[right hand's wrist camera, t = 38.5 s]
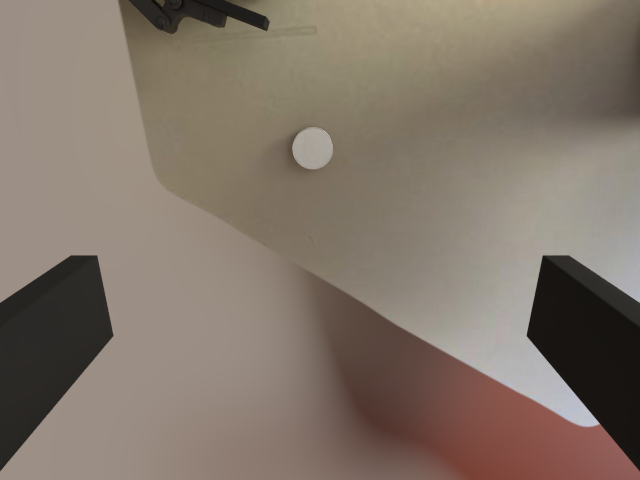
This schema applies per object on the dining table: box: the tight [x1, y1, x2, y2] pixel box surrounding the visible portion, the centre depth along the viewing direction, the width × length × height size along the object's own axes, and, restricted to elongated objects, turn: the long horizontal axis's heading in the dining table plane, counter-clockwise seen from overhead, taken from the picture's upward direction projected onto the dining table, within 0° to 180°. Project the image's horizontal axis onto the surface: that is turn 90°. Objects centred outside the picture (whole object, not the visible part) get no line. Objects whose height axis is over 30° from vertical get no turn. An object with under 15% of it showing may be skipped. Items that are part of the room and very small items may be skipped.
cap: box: [292, 127, 333, 169], centre depth 43 cm, size 4×4×2 cm
